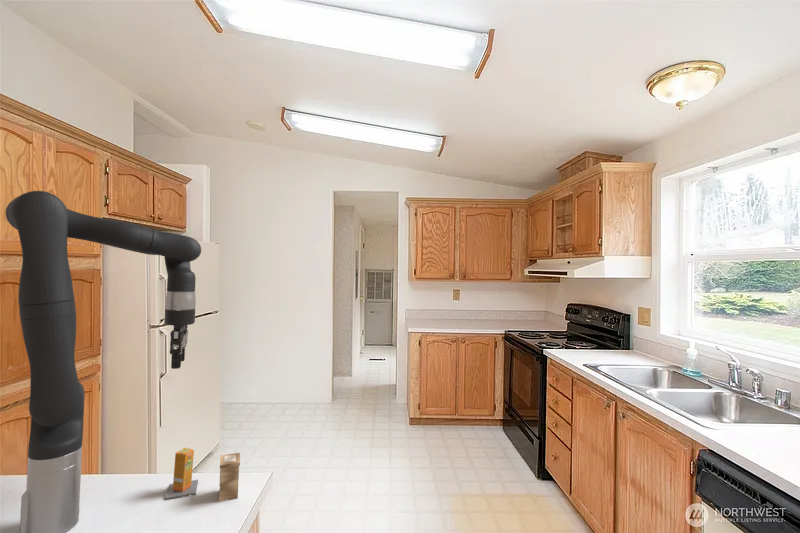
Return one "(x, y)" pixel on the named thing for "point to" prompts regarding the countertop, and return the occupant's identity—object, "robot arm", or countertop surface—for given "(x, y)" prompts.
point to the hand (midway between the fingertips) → (178, 364)
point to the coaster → (177, 494)
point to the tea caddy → (229, 476)
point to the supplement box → (183, 469)
